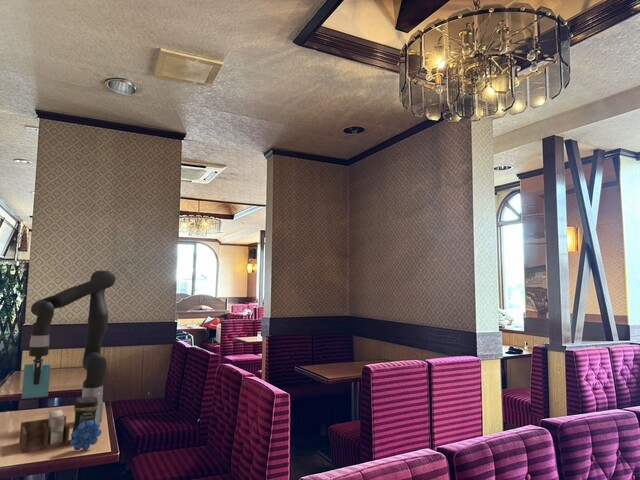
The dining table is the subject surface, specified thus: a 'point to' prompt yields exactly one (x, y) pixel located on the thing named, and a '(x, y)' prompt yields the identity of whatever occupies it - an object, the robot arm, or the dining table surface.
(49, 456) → the dining table surface
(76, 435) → the grapes
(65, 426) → the book rack
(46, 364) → the teal book
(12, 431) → the dining table surface
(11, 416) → the dining table surface
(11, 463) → the dining table surface
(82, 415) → the coffee jar
